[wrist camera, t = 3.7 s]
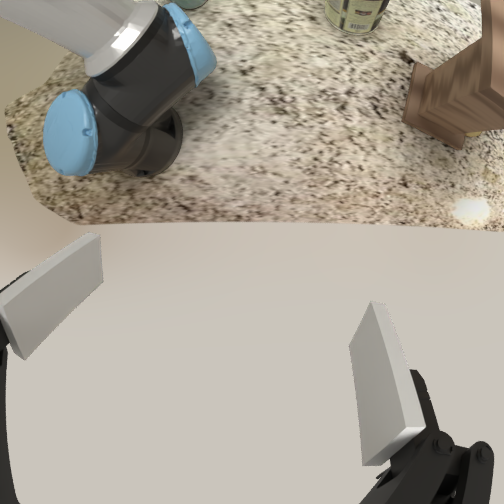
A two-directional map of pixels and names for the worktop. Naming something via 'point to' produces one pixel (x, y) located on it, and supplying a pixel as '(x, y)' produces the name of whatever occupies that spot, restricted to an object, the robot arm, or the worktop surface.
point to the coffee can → (355, 15)
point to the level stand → (462, 87)
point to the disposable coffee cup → (189, 3)
